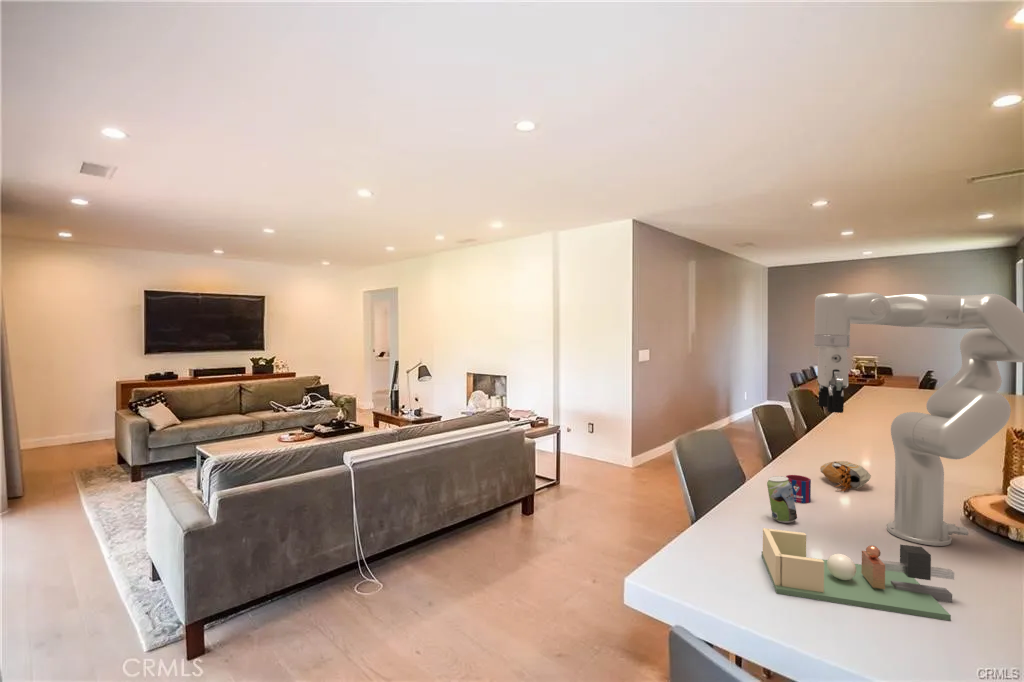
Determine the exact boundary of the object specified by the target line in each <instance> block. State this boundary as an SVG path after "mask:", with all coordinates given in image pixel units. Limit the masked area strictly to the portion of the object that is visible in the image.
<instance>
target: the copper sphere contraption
mask: <svg viewBox="0 0 1024 682" xmlns="http://www.w3.org/2000/svg"><path fill="white" fill-rule="evenodd" d="M881 554H882V553H881V550H880V548H878V547H877V546H875V545H872V544H871V545H868V546H866V548H865V550H861V565H862V570H861V573H862V574H863V576H864V577H865V578H866V579H867V581H868V582H869V583H870V585H871V586H872V587H873V588H880V589H885V570H886V571H894V572H901V573H904V574H905V575H906V576H907V577H910V578H915V579H918V580H926V581H931V578H932V577H933V578H939V579H946V580H947V579H948V580H955V571H953V570H952V569H950V568H944V567H938V566H932V556H931V554H930V553H929V551H927V550H926V549H925V548H924V547H922V546H916V545H909V544H899V562H898V561H891V560H889V561H888V560H884V559H880V556H881Z"/></svg>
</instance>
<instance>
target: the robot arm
mask: <svg viewBox="0 0 1024 682" xmlns="http://www.w3.org/2000/svg"><path fill="white" fill-rule="evenodd" d="M852 324H853V325H854V324H855V325H875V326H877V325H878V326H892V327H901V328H902V327H904V328H905V327H908V328H929V329H934V328H936V329H950V330H951V329H952V330H964V329H966V330H967V329H968V330H969V329H970V330H969V331H967V332H966V333H965V334H964V335H963V336H962V337H961V340H960V342H959V343H960V344H959V345H960V346H959V347H960V348H959V350H960V354H961V365H960V366H961V367H960V369H959V371H957V373H956V374H955V375H953V376H952V377H951V378H950V379H949V380H947V381H946V382H945V383H944V384H943V385H942V386H941V387H939V388H938V389H937V390H936V391H934V392H933V393H932V395H930V397H929V398H928V399H927V402H926V410H927V412H928V413H924V412H918V411H916V412H915V411H909V412H903V413H900V414H899V415H897V416H896V417H895V418H894V419H893V421H892V422H891V425H890V436H891V442H892V445H893V449H894V464H895V465H894V470H895V471H894V521H890V522H888V523H887V524H886V530H887V531H888V533H890V534H891V535H893V536H895V537H898V538H899V539H902V540H905V541H908V542H911V543H916V544H920V545H925V546H927V545H928V546H933V547H939V546H940V547H943V546H944V547H945V546H948V545H950V544H952V535H954V534H956V535H958V536H959V535H960V536H968V535H969V529H968V528H967V527H965V526H958V525H957V526H956V524H955V523H947V522H945V520H944V503H945V502H944V501H945V499H944V496H945V495H944V494H945V492H944V488H945V487H944V486H945V485H944V483H945V470H944V469H945V468H944V464H943V462H942V459H941V458H945V459H948V460H962V459H965V458H967V457H969V456H971V455H972V454H974V453H975V452H976V451H978V450H979V449H980V448H981V447H983V445H985V444H986V443H987V442H988V441H990V440H991V439H992V438H994V436H996V435H997V434H999V432H1000V431H1001V430H1002V429H1003V428H1005V426H1006V425H1007V423H1008V422H1009V419H1010V416H1011V411H1012V409H1011V404H1010V403H1009V401H1008V399H1007V398H1006V397H1005V396H1004V395H1002V394H1001V393H1000V392H999V393H998V391H999V390H1000V388H1001V386H1002V383H1003V382H1002V376H1001V373H1000V370H999V366H998V363H997V362H1007V363H1008V362H1009V363H1024V312H1023V311H1022V309H1020V308H1019V307H1018V306H1017V305H1016V304H1015V303H1014V302H1012V300H1009V299H1008V298H1007V297H1004V296H1003V295H1000V294H997V293H985V294H984V293H982V294H971V295H953V294H952V295H950V294H931V293H929V294H928V293H927V294H926V293H906V294H897V295H883V294H880V293H877V292H871V291H870V292H859V293H850V294H849V293H840V292H834V293H833V292H830V293H822V294H819V295H817V296H816V297H815V300H814V330H813V331H814V333H813V334H814V335H813V336H814V337H813V339H814V341H813V348H816V349H817V348H818V354H817V382H818V384H819V385H818V386H819V387H818V406H819V407H821V408H822V407H824V408H827V412H828V413H834V414H835V413H837V414H839V413H840V414H843V413H844V399H845V398H844V397H845V396H844V389H847V388H848V387H849V359H848V351H847V350H848V349H850V348H851V345H850V344H851V342H850V340H851V325H852ZM971 329H972V330H971Z"/></svg>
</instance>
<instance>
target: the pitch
mask: <svg viewBox="0 0 1024 682" xmlns="http://www.w3.org/2000/svg"><path fill="white" fill-rule="evenodd" d="M761 558H762V560H763V563H764V565H765V568H766V571H767V572H768V573H767V574H768V575H769V577H770V580H771V583H772V585H773V588H774V591H775V593H776V594H778V595H784V596H792V597H796V598H797V597H799V598H805V599H811V600H817V601H821V602H822V601H823V602H829V603H830V602H831V603H836V604H843V605H847V606H848V605H849V606H856V607H861V608H869V609H874V610H880V611H886V612H893V613H900V614H907V615H912V616H918V617H924V618H925V617H926V618H929V619H930V618H931V619H937V620H944V621H952V620H951V618H952V617H951V616H952V615H951V614H950V613H949V612H948V611H947V610H946V609H945V608H944V606H942V605H941V604H940V603H939V602H940V601H941V602H946V603H947V602H948V603H953V593H951V592H950V590H948V588H946V587H940V586H933V585H926V584H921V583H920V582H919V581H918V580H916V579H917V578H910V577H907V576H906V575H905V574H904V573H901V572H894V571H886V570H885V589H880V588H873V587H872V586H871V585H870V583H869V582H868V581H867V579H866V578H865V577H864V576H863V574H862V573H861V570H862V563H861V564H859V563H854V564H855V566H856V574H855V576H854V577H853V578H852V579H850V580H840V579H838V578H836V577H834V576H833V575H832V574H831V573H830V572H829V570H828V567H827V561H828V559H823V558H815V557H814V558H813V557H807V534H806V533H805V532H799V531H791V530H784V529H775V528H765V527H762V551H761Z"/></svg>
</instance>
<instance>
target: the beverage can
mask: <svg viewBox="0 0 1024 682" xmlns="http://www.w3.org/2000/svg"><path fill="white" fill-rule="evenodd" d="M766 482H767V483H766V486H767V492H768V499H769V503H770V509H771V515H772V516H771V517H772V518H773V520H776V521H777V522H780V523H786V524H787V523H793V522H795V521H796V520H797V519H798V514H797V513H798V512H797V508H796V502H795V501H794V495H793V489H792V484H791V482H790V481H789V480H788V478H787V477H786V476H783V475H775V476H774V475H773V476H769V477H768V480H767V481H766Z"/></svg>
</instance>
